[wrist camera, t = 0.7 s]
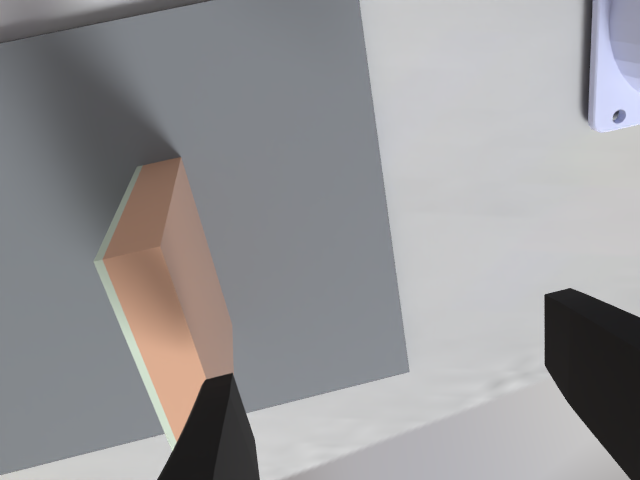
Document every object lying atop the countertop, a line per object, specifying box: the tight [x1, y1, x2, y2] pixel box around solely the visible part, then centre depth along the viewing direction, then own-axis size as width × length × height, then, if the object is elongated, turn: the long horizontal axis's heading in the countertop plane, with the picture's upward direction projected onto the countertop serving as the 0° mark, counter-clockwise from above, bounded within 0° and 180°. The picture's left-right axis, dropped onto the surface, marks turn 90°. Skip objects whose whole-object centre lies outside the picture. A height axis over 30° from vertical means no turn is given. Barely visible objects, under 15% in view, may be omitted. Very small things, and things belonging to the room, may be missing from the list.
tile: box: [94, 157, 234, 451], centre depth 17 cm, size 2×7×7 cm, turn 10°
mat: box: [0, 0, 409, 475], centre depth 20 cm, size 18×16×1 cm
